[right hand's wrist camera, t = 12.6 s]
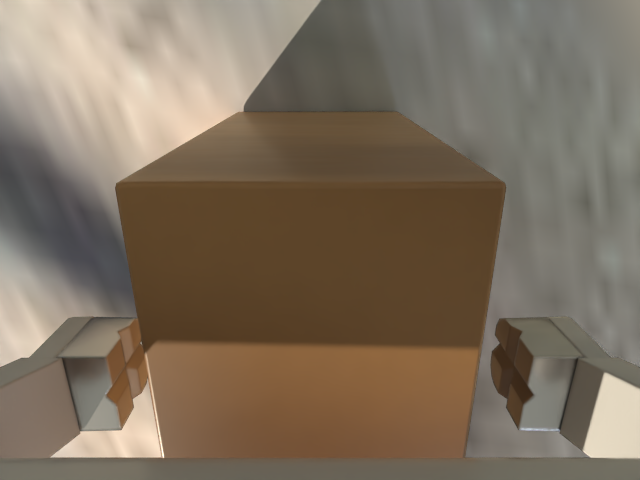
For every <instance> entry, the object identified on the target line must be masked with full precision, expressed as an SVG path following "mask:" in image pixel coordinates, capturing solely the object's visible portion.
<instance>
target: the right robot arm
mask: <svg viewBox="0 0 640 480" xmlns="http://www.w3.org/2000/svg"><path fill="white" fill-rule="evenodd" d="M495 336H496V337H497V339H498V341H499V342H500V344H499V345H498V346H497V347H496V348H495V349H494V350H493V351H492V356H491V364H490V365H491V376H492V379H493V383H494V386H495V387H496V389H497V391H498V393H499V394H501V395H502V396H504V397H505V398H507V405H506V408H507V410H508V412H509V413H510V415H511V417H512V419H513V421H514V423H515V424H516V426H517V428H518V430H532V431H560V434H561V435H563V436H564V437H565V438H566V439H568V440H569V441H570V442H572V443H573V444H574V445H575V446H577V447H578V448H579V449H581V450H582V451H583V452H584V453H586V454H587V455H588V456H589V457H591V458H49V457H51V456H52V455H53V454H55V453H56V452H57V451H58V450H60V449H61V448H62V447H63V446H65V445H66V444H67V443H69V442H70V441H71V440H72V439H74V438H75V437H76V436H78V435H79V434H80V431H107V430H122V428H123V426H124V424H125V423H126V421H127V419H128V417H129V415H130V414H131V412H132V410H133V408H134V405H133V398H135V397H136V396H138V395H139V394H141V393H142V391H143V389H144V387H145V385H146V383H147V379H148V375H147V369H146V363H145V357H144V352H143V346H142V345H141V344H140V342H141V341H142V340H141V334H140V329H139V323H138V318H122V317H72V318H68V319H67V320H66V321H65V322H64V323H63V324H62V325H61V326H60V327H59V328H58V329H57V330H56V331H55V332H54V333H53V334H52V335H51V336H50V337H49V338H48V339H47V340H46V341H45V342H44V343H43V344H42V345H41V346H40V347H39V348H38V349H37V350H36V351H35V352H34V353H33V354H32V355H31V356H30V357H29V358H20V359H18V360H16V361H13V362H11V363H9V364H7V365H4V366H2V367H0V480H640V367H638V366H636V365H633V364H631V363H629V362H627V361H624V360H622V359H620V358H611V357H610V356H609V355H608V354H607V353H606V352H605V351H604V350H603V349H602V348H601V347H600V346H599V345H598V344H597V343H596V342H595V341H594V340H593V339H592V338H591V337H590V336H589V335H588V334H587V333H586V332H585V331H584V330H583V329H582V328H581V327H580V326H579V325H578V324H577V323H576V322H575V321H574V320H573V319H572V318H569V317H536V318H502V319H499V321H498V323H497V325H496V331H495Z"/></svg>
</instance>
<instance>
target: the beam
mask: <svg viewBox="0 0 640 480" xmlns="http://www.w3.org/2000/svg"><path fill="white" fill-rule="evenodd" d="M115 190H116V196H117V202H118V207H119V213H120V219H121V225H122V230H123V236H124V242H125V248H126V254H127V259H128V265H129V271H130V277H131V282H132V288H133V294H134V300H135V305H136V311H137V317H138V323H139V329H140V334H141V340H142V346H143V352H144V357H145V363H146V369H147V375H148V380H149V386H150V392H151V398H152V404H153V409H154V415H155V421H156V427H157V432H158V438H159V444H160V450H161V455H162V458H465V454H466V447H467V441H468V434H469V428H470V421H471V415H472V408H473V402H474V395H475V388H476V382H477V375H478V369H479V362H480V356H481V349H482V343H483V336H484V329H485V323H486V316H487V310H488V303H489V297H490V290H491V284H492V277H493V271H494V264H495V257H496V251H497V244H498V238H499V231H500V225H501V218H502V212H503V205H504V199H505V192H506V185H505V183H504V182H503V181H501V180H500V179H498V178H497V177H495V176H494V175H492V174H491V173H489V172H488V171H486V170H485V169H483V168H482V167H480V166H479V165H477V164H476V163H474V162H473V161H471V160H469V159H468V158H466V157H465V156H463V155H462V154H460V153H459V152H457V151H456V150H454V149H453V148H451V147H450V146H448V145H447V144H445V143H444V142H442V141H441V140H439V139H438V138H436V137H435V136H433V135H432V134H430V133H429V132H427V131H426V130H424V129H423V128H421V127H420V126H418V125H417V124H415V123H414V122H412V121H411V120H409V119H408V118H406V117H405V116H403V115H402V114H400V113H399V112H238V113H236V114H234V115H232V116H231V117H229V118H227V119H226V120H224V121H222V122H220V123H219V124H217V125H215V126H214V127H212V128H210V129H208V130H207V131H205V132H203V133H202V134H200V135H198V136H196V137H195V138H193V139H191V140H190V141H188V142H186V143H185V144H183V145H181V146H179V147H178V148H176V149H174V150H173V151H171V152H169V153H167V154H166V155H164V156H162V157H161V158H159V159H157V160H155V161H154V162H152V163H150V164H149V165H147V166H145V167H144V168H142V169H140V170H138V171H137V172H135V173H133V174H132V175H130V176H128V177H126V178H125V179H123V180H121V181H120V182H118V183H117V184H116V187H115Z"/></svg>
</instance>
